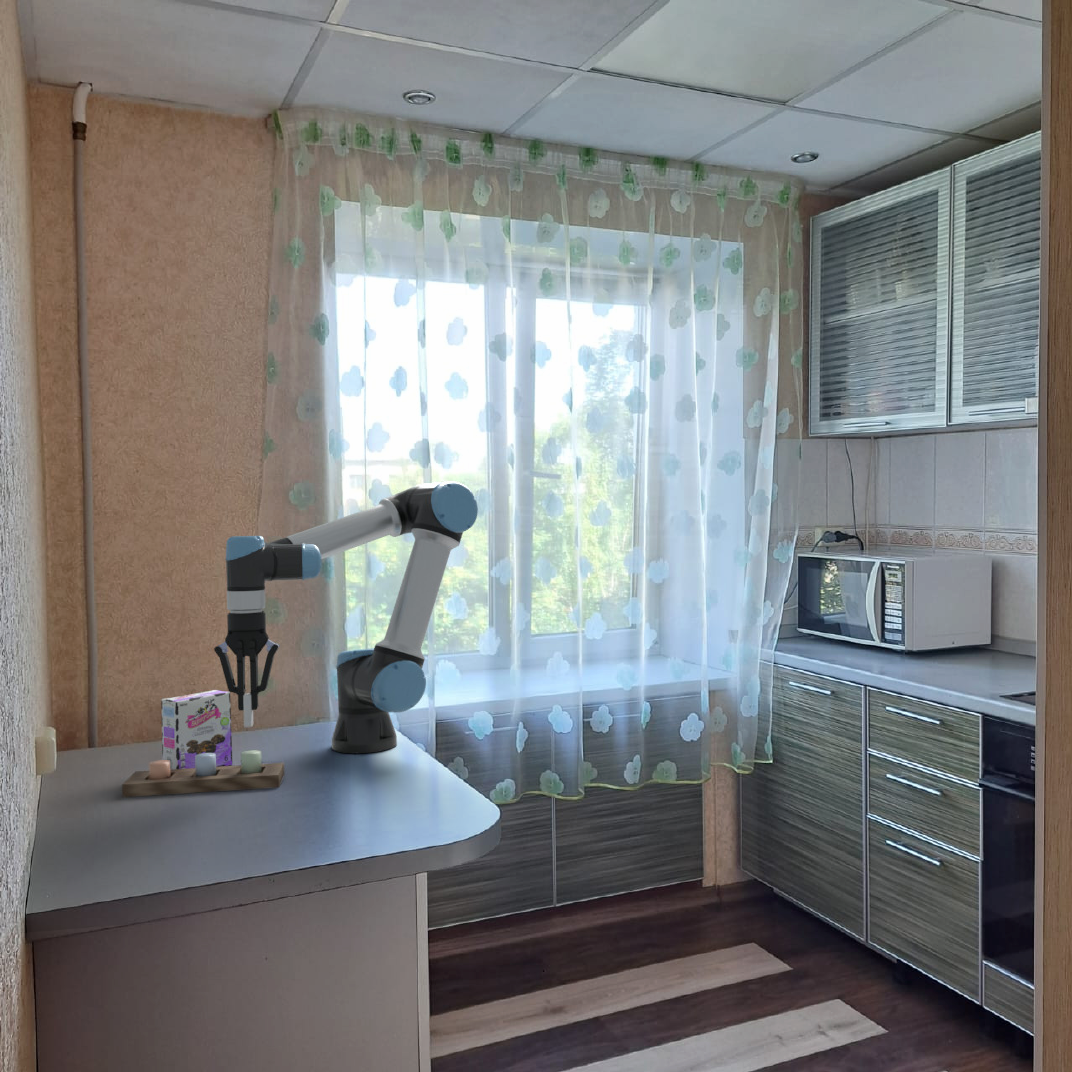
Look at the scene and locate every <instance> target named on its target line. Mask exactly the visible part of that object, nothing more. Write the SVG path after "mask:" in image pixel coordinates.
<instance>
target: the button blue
mask: <svg viewBox="0 0 1072 1072" xmlns="http://www.w3.org/2000/svg"><path fill="white" fill-rule="evenodd" d="M195 768H196V777H201V776H214V775H216V754H215V753H202V754H198V755H196V756H195Z"/></svg>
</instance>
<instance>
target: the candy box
mask: <svg viewBox="0 0 1072 1072" xmlns="http://www.w3.org/2000/svg"><path fill="white" fill-rule="evenodd" d="M160 702H161V703H160V705H161V706H160V707H161V745H162V746H161V748H162V751H161V752H162V756H161V757H162V758H161V760H169V761H170V769H187V768H195V756H196V755H198V754H202V753H215V754H216V767H221V766H233V742H232V741H233V739H232V738H233V736H232V710H231V709H232V707H231V703H232V702H231V692H229V691H225V690H218V689H212V690H208V691H201V692H196V693H192V694H185V695H180V696H174V697H167V698H161V700H160Z"/></svg>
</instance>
